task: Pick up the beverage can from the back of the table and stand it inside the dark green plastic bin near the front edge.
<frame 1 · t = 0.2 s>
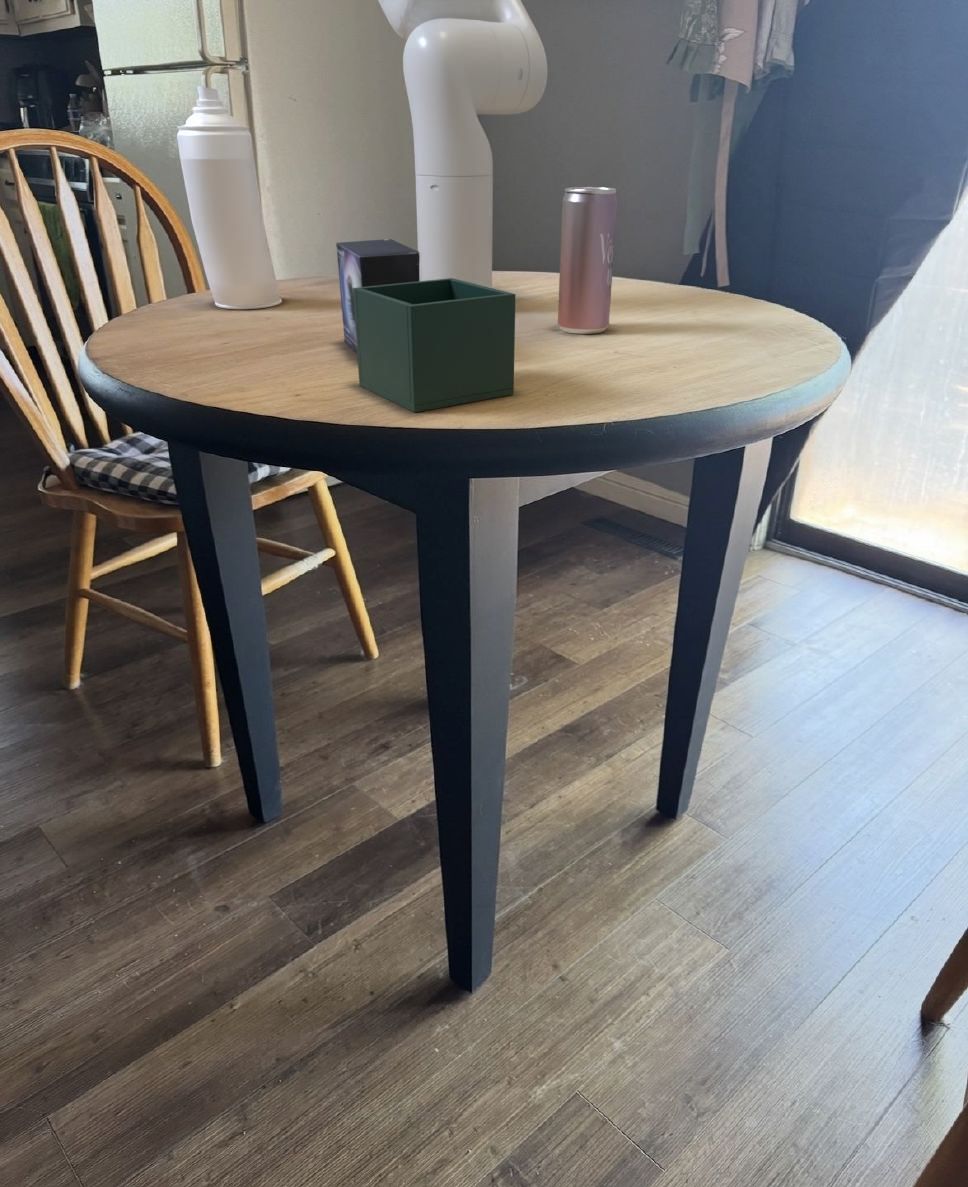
spray can: (243, 307, 115), on the table
small box: (381, 353, 92), on the table
bin: (435, 390, 79), on the table
beverage can: (582, 331, 102), on the table
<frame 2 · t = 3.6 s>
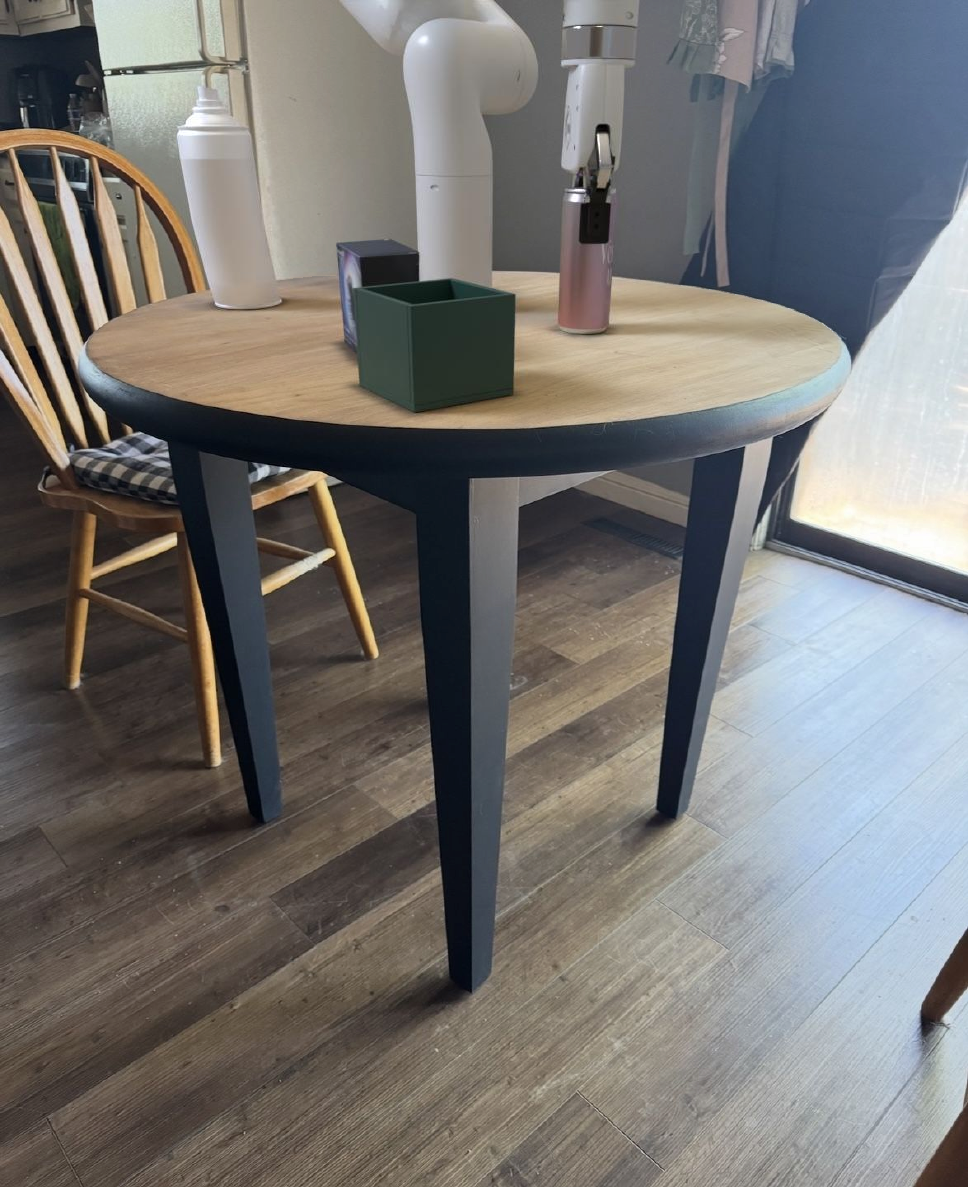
hand: (588, 238, 98), 10 cm above the table, tool pointing down, fingers closed on beverage can, 6 cm apart
beverage can: (582, 331, 102), on the table, touching gripper
everything else where it was.
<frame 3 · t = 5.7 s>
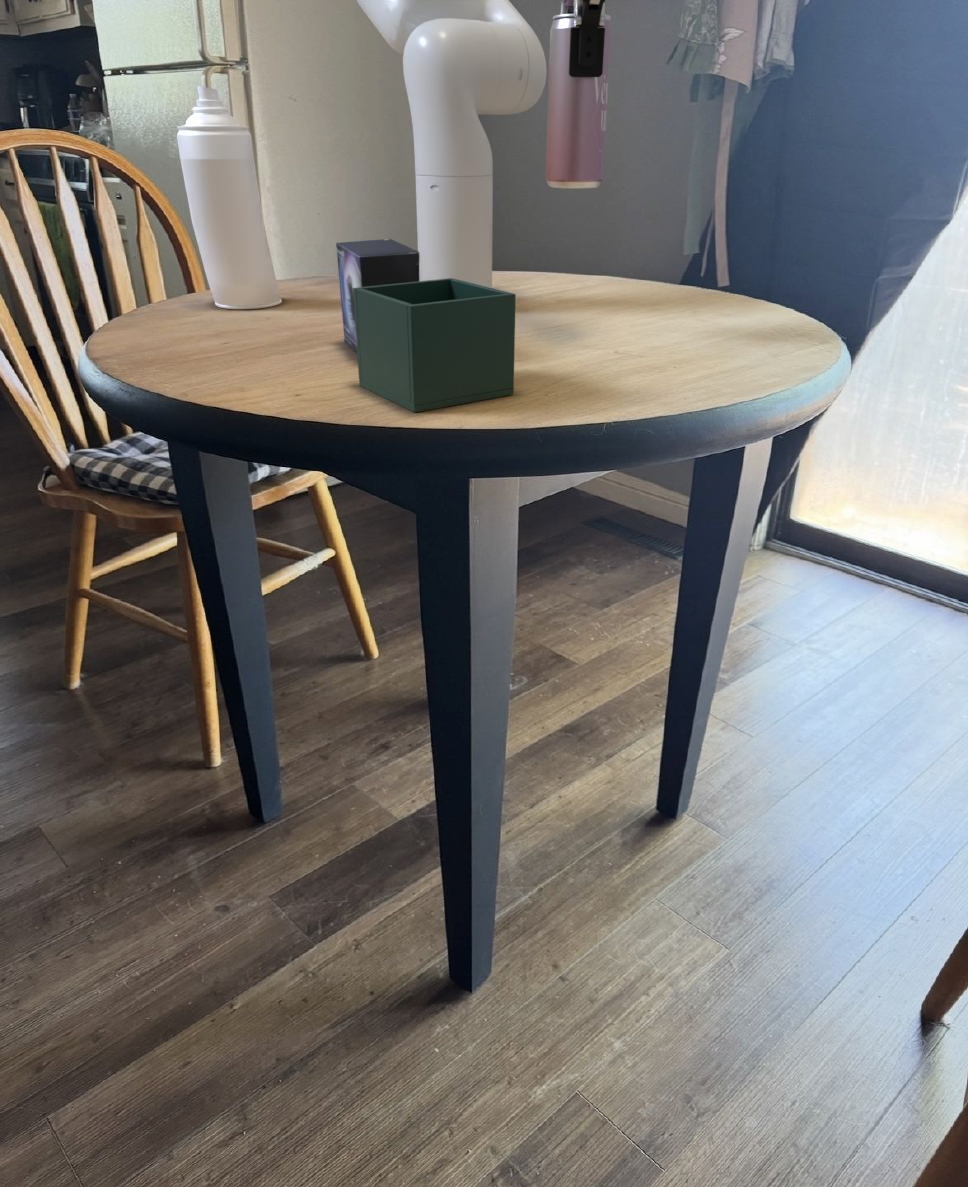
hand: (578, 76, 87), 25 cm above the table, tool pointing down, fingers closed on beverage can, 6 cm apart
beverage can: (573, 188, 92), point 15 cm above the table, touching gripper
everything else where it was.
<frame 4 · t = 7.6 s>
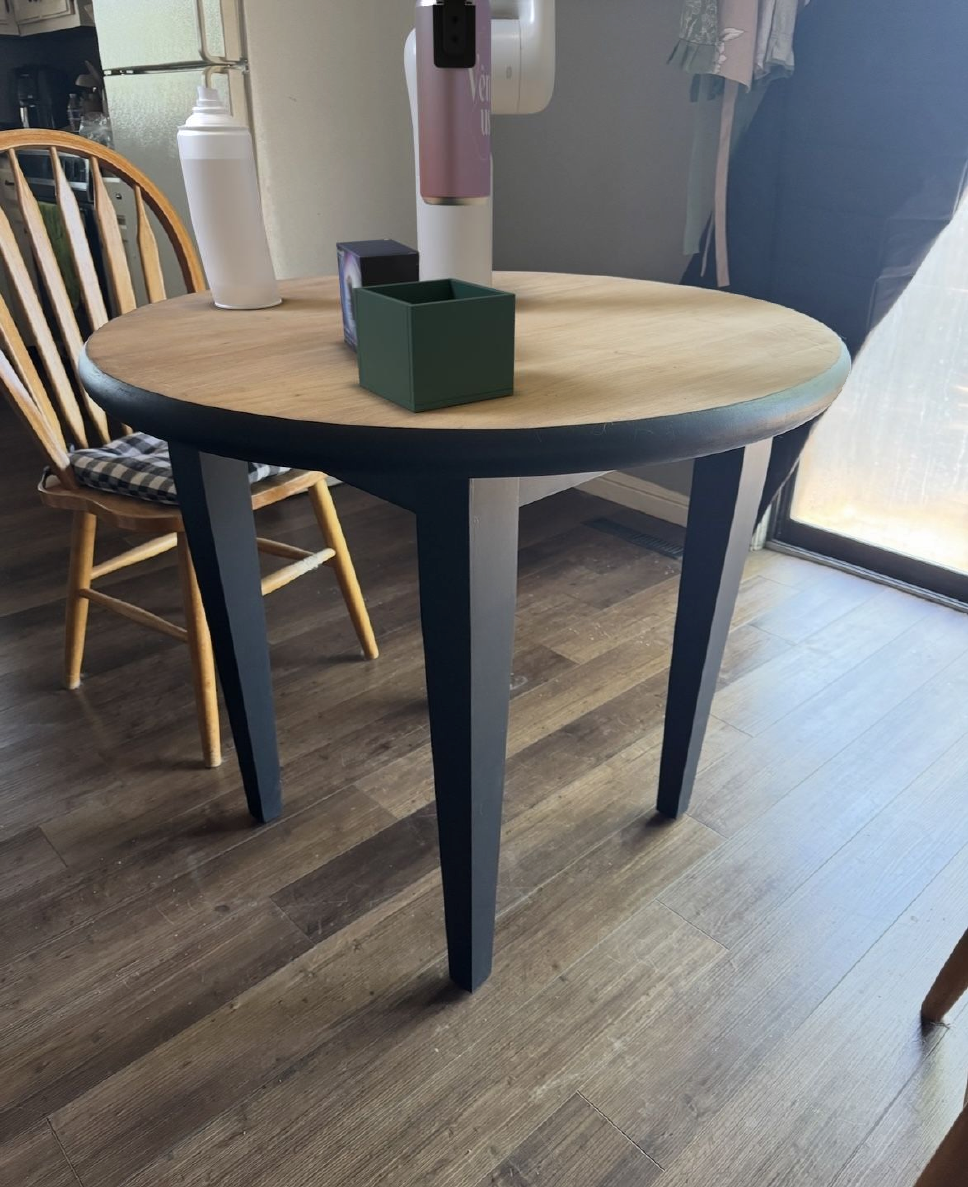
hand: (452, 67, 70), 25 cm above the table, tool pointing down, fingers closed on beverage can, 6 cm apart
beverage can: (455, 205, 75), point 15 cm above the table, touching gripper
everything else where it was.
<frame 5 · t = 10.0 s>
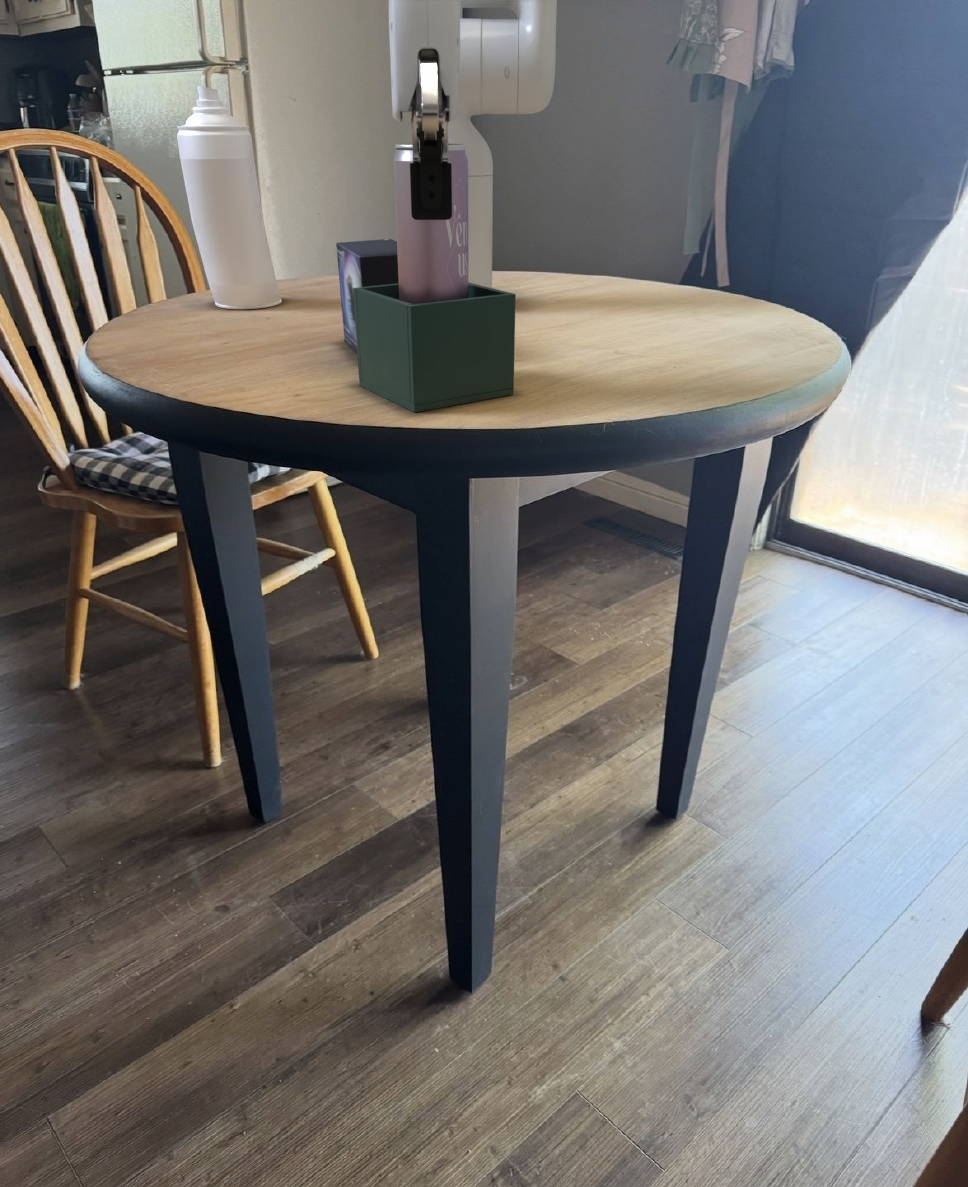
hand: (431, 213, 72), 15 cm above the table, tool pointing down, fingers closed on beverage can, 6 cm apart
beverage can: (434, 338, 77), point 5 cm above the table, touching gripper
everything else where it was.
when the fingers open (11 cm above the table, at t = 11.6 s): beverage can stays where it is, resting on bin.
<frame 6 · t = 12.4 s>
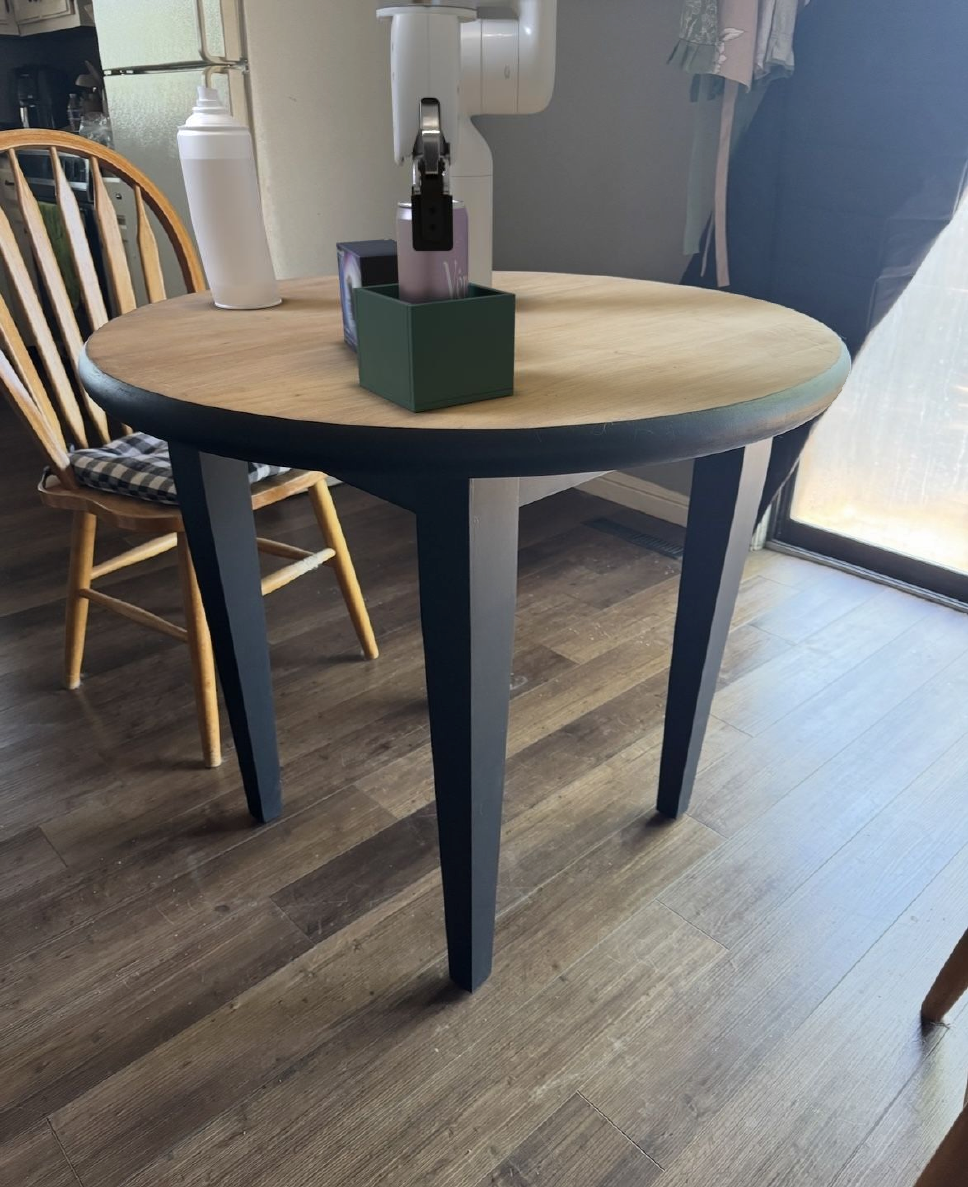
hand: (432, 242, 73), 12 cm above the table, tool pointing down, fingers open, 9 cm apart
beverage can: (436, 385, 79), resting on bin
everything else where it was.
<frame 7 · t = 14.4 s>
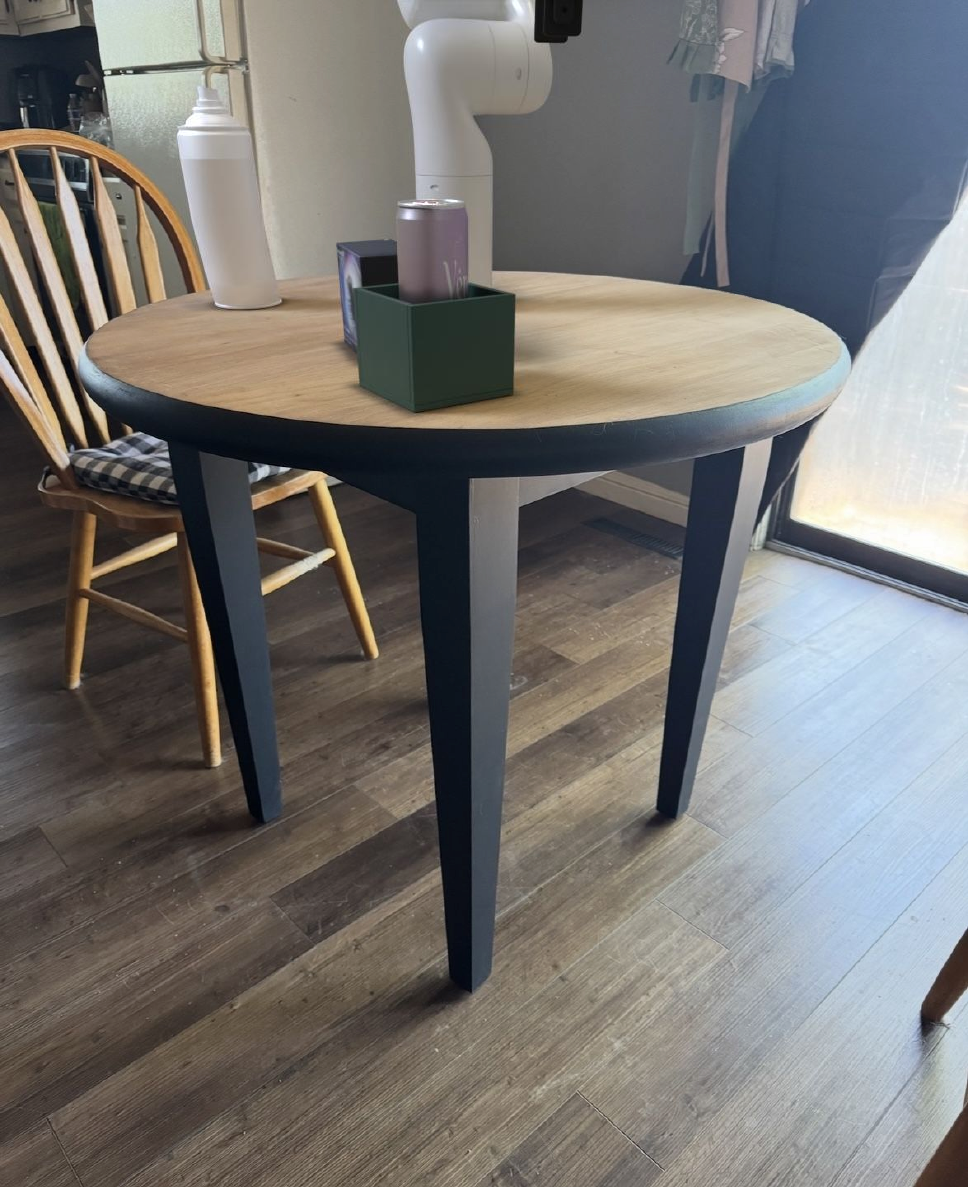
hand: (556, 39, 79), 28 cm above the table, tool pointing down, fingers open, 9 cm apart
nothing on the table moved.
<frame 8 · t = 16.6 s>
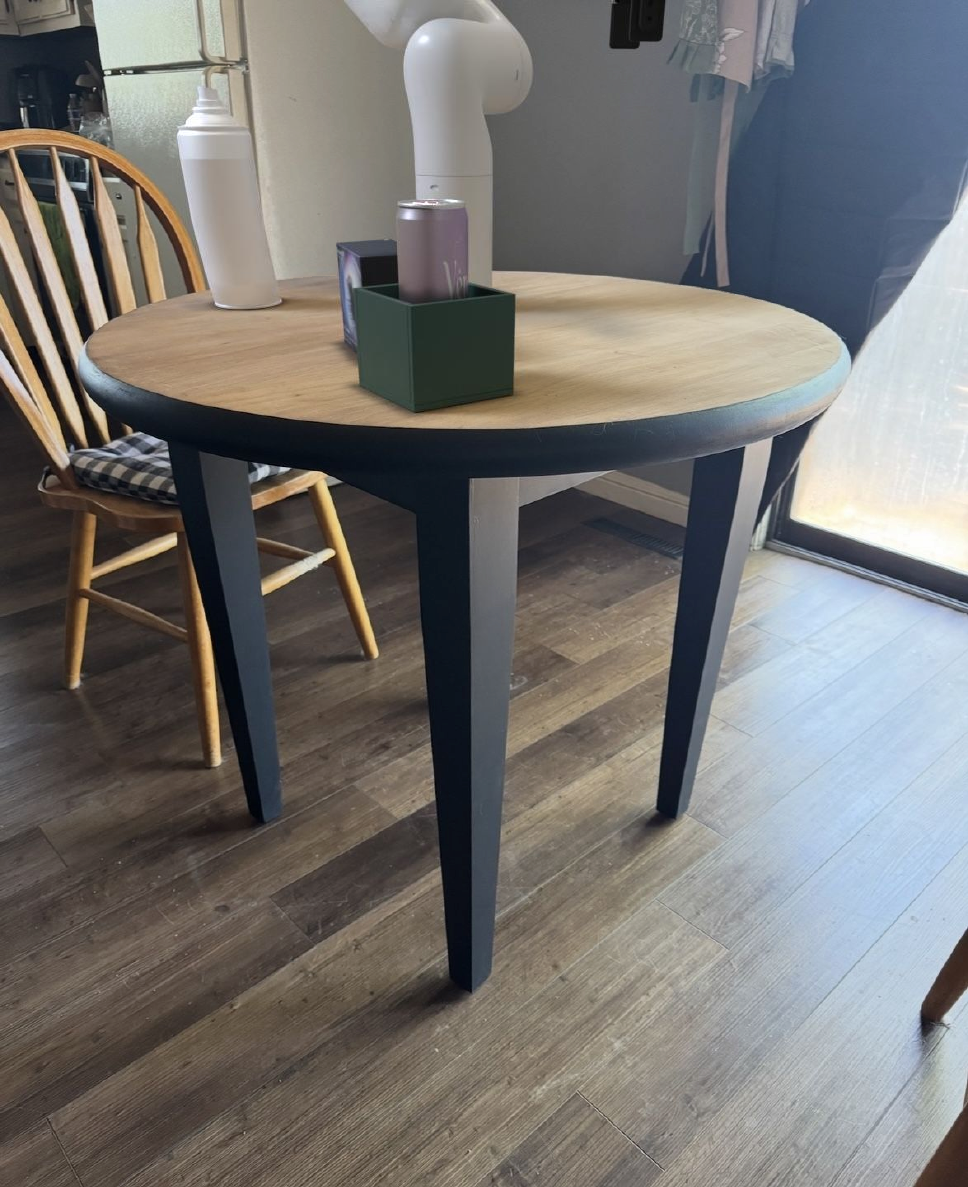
hand: (634, 45, 89), 28 cm above the table, tool pointing down, fingers open, 9 cm apart
nothing on the table moved.
at the end: beverage can 0.1 cm off-centre in the bin, point 0.4 cm above the bin's base; beverage can tilted 0°; the gripper is holding nothing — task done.
